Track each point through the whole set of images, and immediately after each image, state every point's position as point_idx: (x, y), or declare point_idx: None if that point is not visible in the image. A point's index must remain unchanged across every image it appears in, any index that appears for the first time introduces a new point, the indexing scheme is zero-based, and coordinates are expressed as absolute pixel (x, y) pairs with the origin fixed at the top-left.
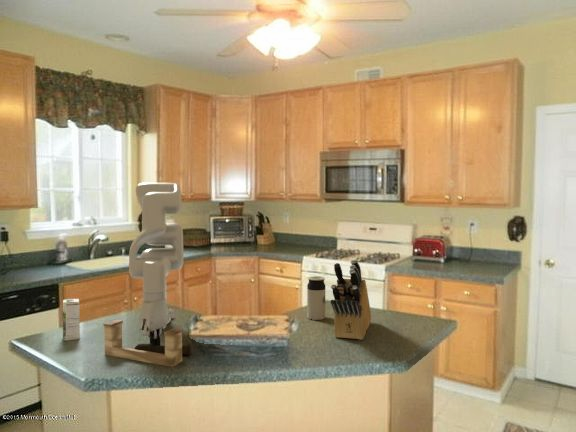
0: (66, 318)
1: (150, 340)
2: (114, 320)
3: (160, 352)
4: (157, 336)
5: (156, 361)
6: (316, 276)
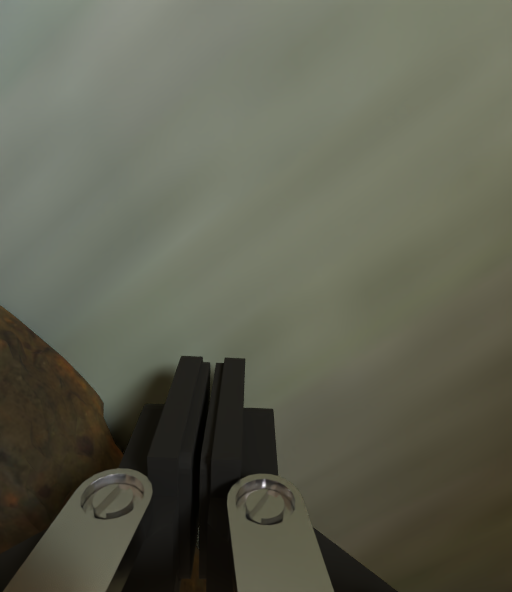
0: None
1: (123, 461)
2: None
3: None
4: (207, 580)
5: None
6: None
